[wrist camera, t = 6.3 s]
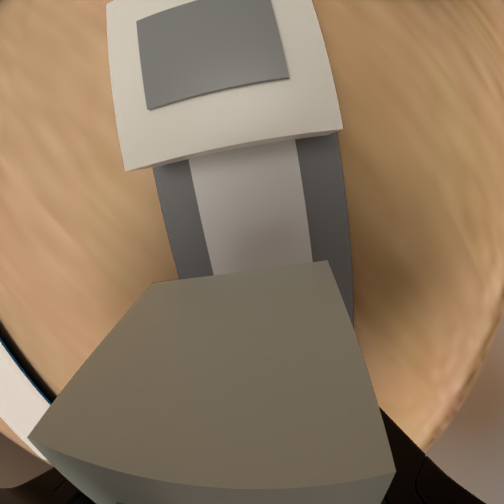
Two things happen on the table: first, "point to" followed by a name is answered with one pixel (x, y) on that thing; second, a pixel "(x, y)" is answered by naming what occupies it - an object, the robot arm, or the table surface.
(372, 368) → the table surface
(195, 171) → the rail plate
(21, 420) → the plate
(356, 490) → the block
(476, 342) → the table surface
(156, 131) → the mounted module
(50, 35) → the table surface
